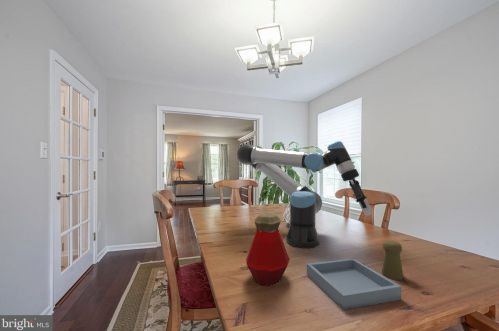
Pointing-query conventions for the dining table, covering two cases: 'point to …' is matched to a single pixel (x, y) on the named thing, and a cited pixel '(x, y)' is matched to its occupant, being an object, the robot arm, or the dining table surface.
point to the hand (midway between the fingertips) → (369, 213)
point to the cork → (392, 260)
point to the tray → (353, 283)
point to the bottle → (267, 251)
